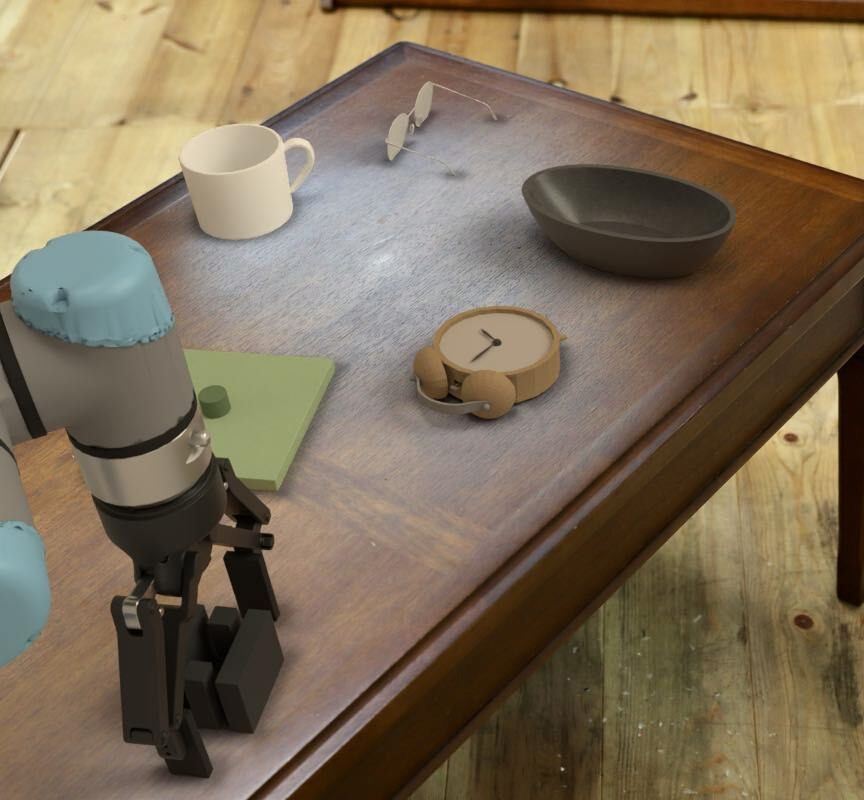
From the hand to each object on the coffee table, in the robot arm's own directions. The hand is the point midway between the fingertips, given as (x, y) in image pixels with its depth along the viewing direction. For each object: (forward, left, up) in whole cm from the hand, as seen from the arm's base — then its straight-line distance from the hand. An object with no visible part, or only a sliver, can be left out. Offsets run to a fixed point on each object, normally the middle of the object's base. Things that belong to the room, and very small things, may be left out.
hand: (228, 691), depth 97 cm
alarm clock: (+11, +36, 0) cm, 37 cm away
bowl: (+21, +57, 0) cm, 61 cm away
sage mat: (-11, +28, 0) cm, 30 cm away
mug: (-19, +61, 0) cm, 64 cm away
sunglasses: (-3, +77, 0) cm, 77 cm away
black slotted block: (0, 0, 0) cm, 0 cm away
